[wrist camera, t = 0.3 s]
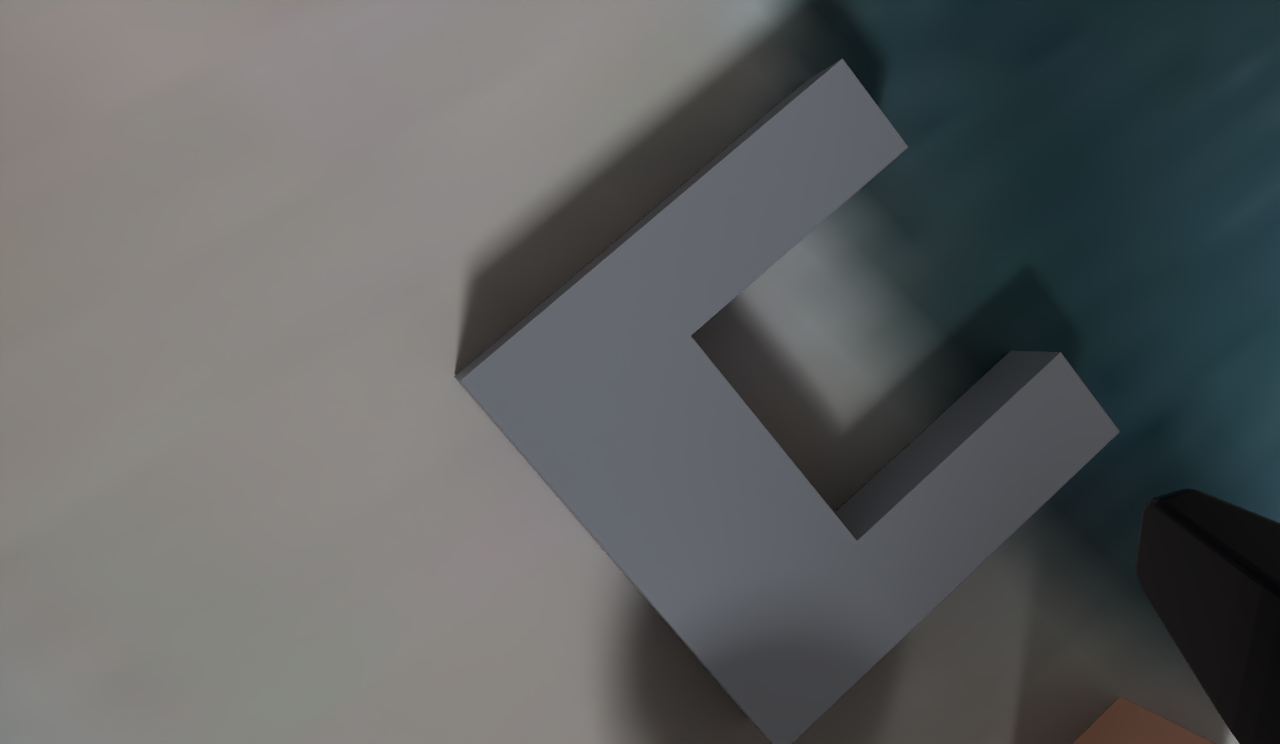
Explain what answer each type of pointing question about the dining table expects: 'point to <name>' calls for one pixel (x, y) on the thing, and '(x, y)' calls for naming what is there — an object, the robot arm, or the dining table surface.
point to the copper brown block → (1136, 728)
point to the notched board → (766, 431)
